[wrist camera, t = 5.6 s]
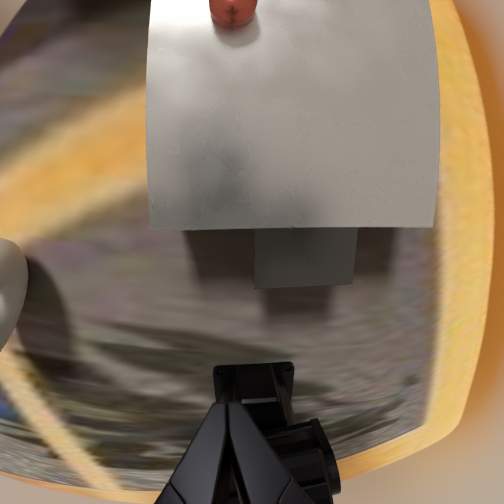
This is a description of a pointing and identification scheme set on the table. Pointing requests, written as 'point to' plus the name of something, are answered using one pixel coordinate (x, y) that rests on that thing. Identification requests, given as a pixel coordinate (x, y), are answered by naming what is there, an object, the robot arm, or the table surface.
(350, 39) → the lid
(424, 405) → the table surface
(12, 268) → the donut
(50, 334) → the table surface
